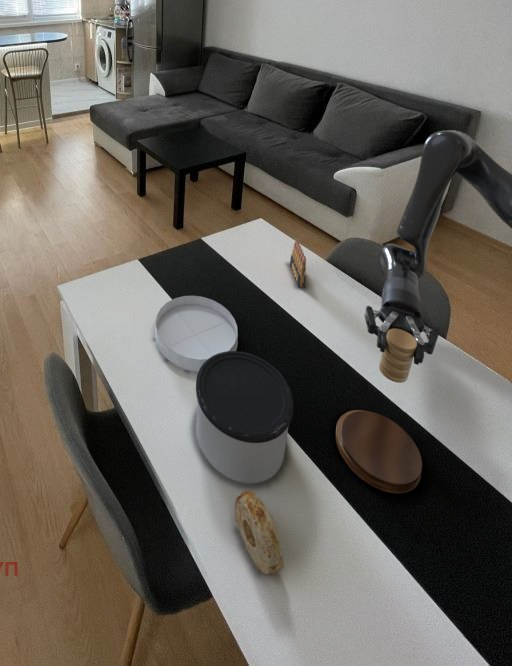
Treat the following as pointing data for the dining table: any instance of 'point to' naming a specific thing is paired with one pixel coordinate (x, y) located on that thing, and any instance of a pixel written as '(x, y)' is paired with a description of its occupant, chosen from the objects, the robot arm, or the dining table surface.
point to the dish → (194, 331)
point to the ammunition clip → (298, 264)
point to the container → (242, 415)
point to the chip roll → (397, 355)
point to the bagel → (258, 532)
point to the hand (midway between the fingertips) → (399, 354)
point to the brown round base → (379, 451)
